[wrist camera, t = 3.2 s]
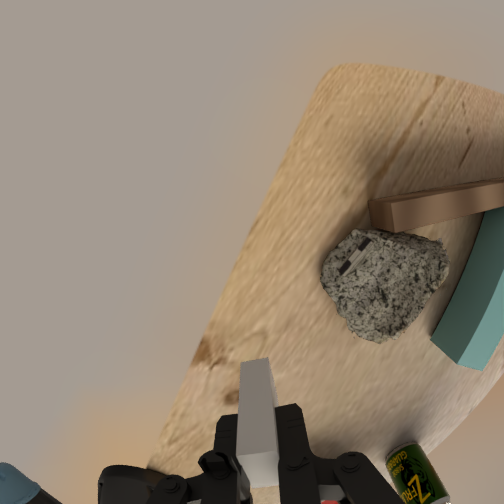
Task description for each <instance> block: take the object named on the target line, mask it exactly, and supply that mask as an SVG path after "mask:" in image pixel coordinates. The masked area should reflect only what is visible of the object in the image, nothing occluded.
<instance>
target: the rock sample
mask: <svg viewBox="0 0 504 504" xmlns="http://www.w3.org/2000/svg"><path fill="white" fill-rule="evenodd" d="M382 230H383V229H382ZM437 240H438V239H437ZM437 240H436V241H430V240H429V239H428V238H425V237H422V236H418V235H415V234H412V235H410V234H405V233H404V232H397V233H387V232H381V231H379V230H362V229H354V230H353V231H352V232H351V233H350V234H349V235H347V237H346V238H345V239H344V240H343V241H342V242H341V243H340V244H338V245H337V246H336V248H335V249H334V250H332V251H330V253H329V255H328V257H327V259H326V260H325V261H324V263H323V267H322V269H323V271H322V273H321V274H320V275H322V277H320V280H321V284H322V286H323V289H324V290H325V291H326V292H327V293H328V294H329V296H330V297H331V298H332V299H333V301H334V302H335V303H336V306H337V312H338V314H339V315H340V316H341V317H343V318H346V320H347V326H348V329H349V330H351V331H352V332H355V333H356V334H357V335H358V336H359V337H362V338H363V339H366V340H368V341H374V342H376V343H378V344H381V343H382V342H385V341H387V340H388V339H390V338H392V339H393V340H396V339H397V338H399V336H400V335H401V334H402V333H404V332H405V330H406V329H407V328H408V326H410V324H411V323H412V322H413V321H414V320H415V319H416V318H417V317H418V315H419V314H420V313H421V311H422V310H423V308H424V306H425V304H426V302H427V301H428V299H429V298H430V296H431V295H432V294H433V293H434V292H435V291H436V289H438V288H440V286H441V284H442V283H443V282H444V280H445V279H446V277H447V275H448V273H449V264H450V261H449V260H448V255H447V253H446V249H443V248H442V246H443V243H442V239H441V238H439V240H438V241H437ZM446 289H447V288H446ZM440 295H441V294H440ZM336 315H337V314H336ZM354 339H355V338H354Z"/></svg>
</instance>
